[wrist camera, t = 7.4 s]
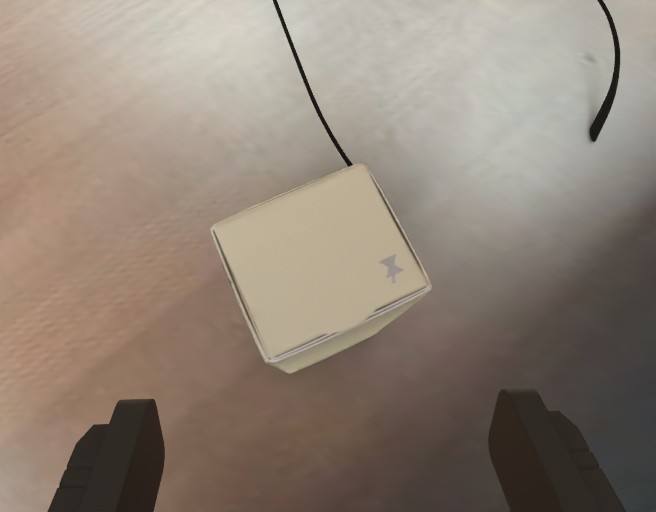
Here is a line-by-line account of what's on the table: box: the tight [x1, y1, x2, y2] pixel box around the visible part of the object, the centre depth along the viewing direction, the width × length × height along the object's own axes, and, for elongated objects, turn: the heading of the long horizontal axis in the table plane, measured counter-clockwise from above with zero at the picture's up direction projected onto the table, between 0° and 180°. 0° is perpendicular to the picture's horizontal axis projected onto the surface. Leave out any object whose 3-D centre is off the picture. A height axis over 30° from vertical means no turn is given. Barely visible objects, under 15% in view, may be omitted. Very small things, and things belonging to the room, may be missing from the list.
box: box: [210, 163, 432, 373], centre depth 21 cm, size 5×4×13 cm
